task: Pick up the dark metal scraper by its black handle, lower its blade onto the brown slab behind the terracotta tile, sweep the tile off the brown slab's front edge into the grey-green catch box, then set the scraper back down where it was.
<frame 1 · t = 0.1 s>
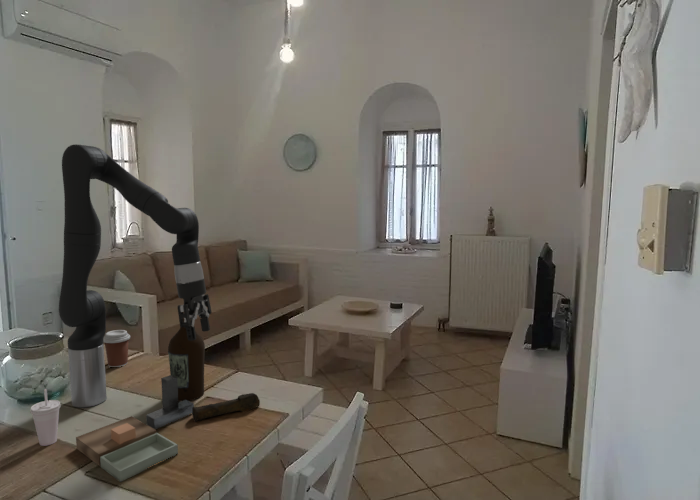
hand: (199, 335, 135), 22 cm above the table, tool pointing down, fingers open, 8 cm apart
coffee cup: (117, 365, 173), on the table
catch box: (140, 460, 112), on the table
hand tool: (226, 413, 136), on the table
brown slab: (117, 445, 119), on the table
tile: (123, 438, 116), point 3 cm above the table, touching brown slab
scraper: (171, 419, 132), on the table
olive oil: (188, 395, 148), on the table
smoothie: (48, 442, 120), on the table
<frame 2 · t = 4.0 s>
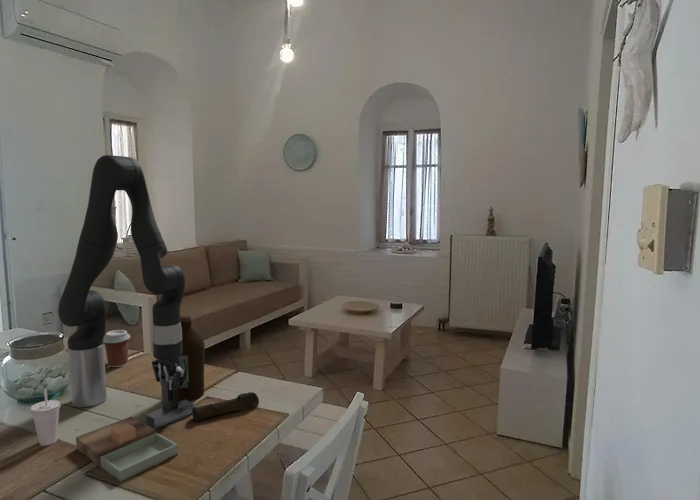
hand: (170, 399, 132), 6 cm above the table, tool pointing down, fingers closed on scraper, 3 cm apart
scraper: (170, 418, 132), on the table, touching gripper
everything else where it was.
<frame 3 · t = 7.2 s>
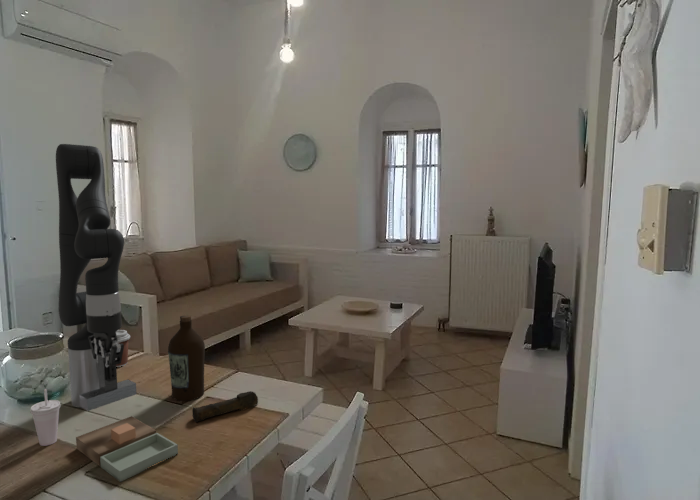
hand: (107, 378, 118), 17 cm above the table, tool pointing down, fingers closed on scraper, 3 cm apart
scraper: (109, 400, 119), point 11 cm above the table, touching gripper
everything else where it was.
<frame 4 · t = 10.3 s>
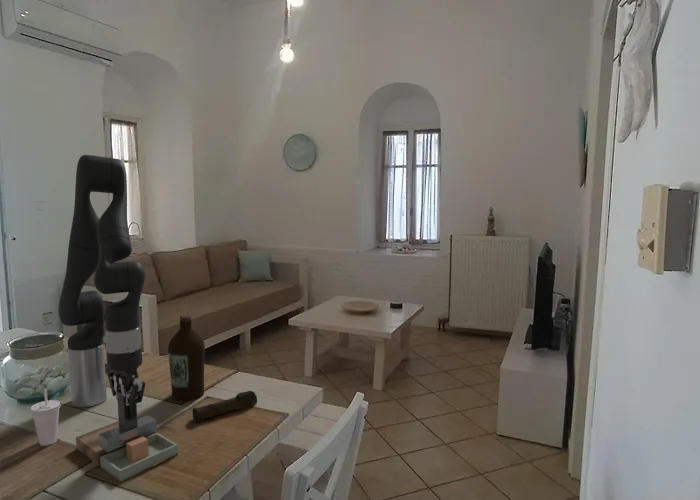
hand: (127, 416, 114), 9 cm above the table, tool pointing down, fingers closed on scraper, 3 cm apart
tile: (134, 447, 113), point 2 cm above the table, tilted 90°, touching catch box
scraper: (129, 438, 114), point 4 cm above the table, touching gripper
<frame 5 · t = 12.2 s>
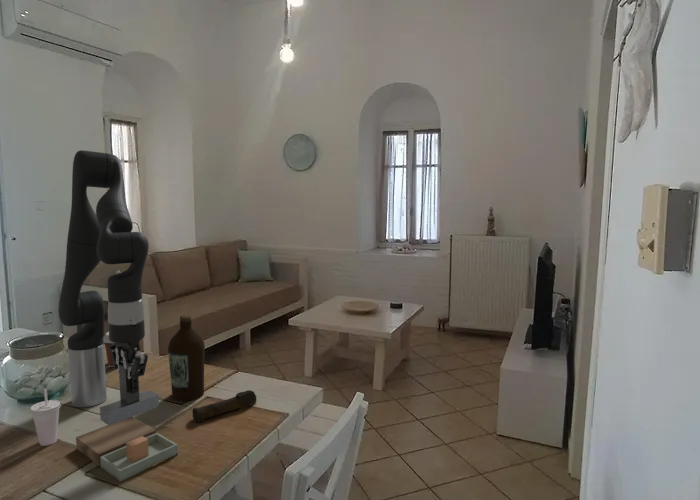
hand: (129, 390, 112), 17 cm above the table, tool pointing down, fingers closed on scraper, 3 cm apart
scraper: (130, 412, 112), point 11 cm above the table, touching gripper
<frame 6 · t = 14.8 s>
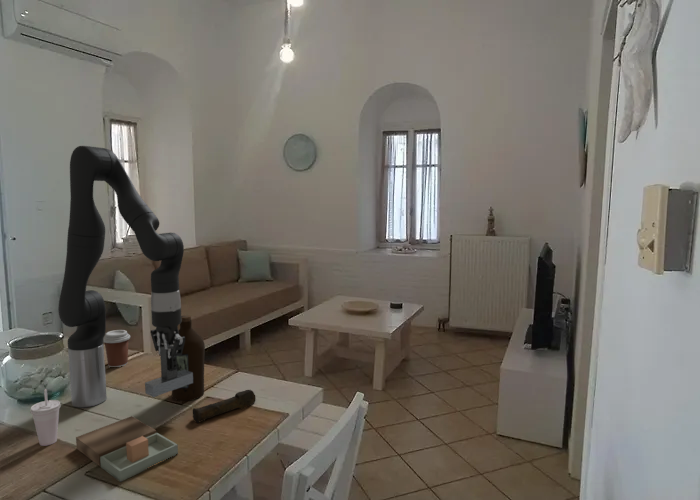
hand: (169, 368, 131), 15 cm above the table, tool pointing down, fingers closed on scraper, 3 cm apart
scraper: (169, 387, 131), point 9 cm above the table, touching gripper
when the fingers open (7 cm above the table, at t = 16.8 s): scraper drops 1 cm, on the table.
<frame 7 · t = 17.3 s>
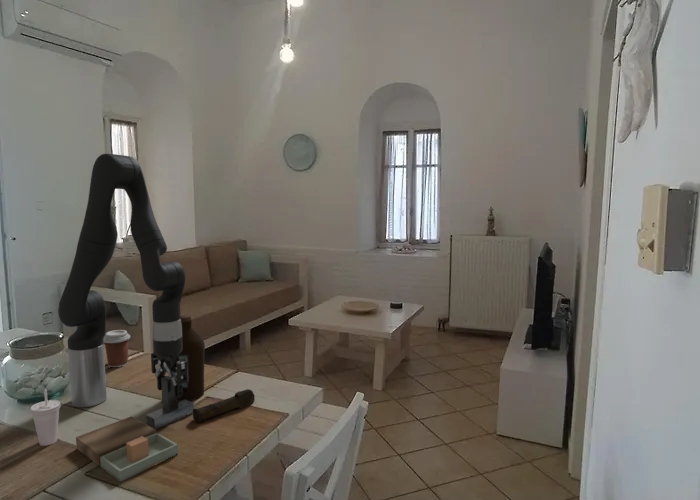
hand: (169, 393, 131), 7 cm above the table, tool pointing down, fingers open, 7 cm apart
scraper: (170, 419, 132), on the table
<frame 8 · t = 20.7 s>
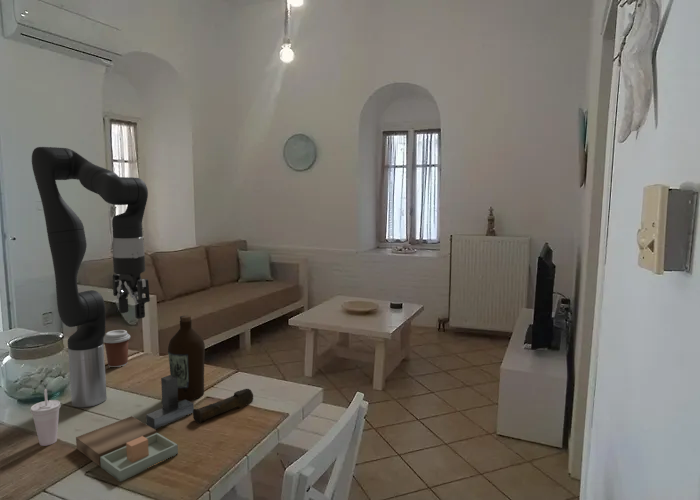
hand: (131, 315, 126), 30 cm above the table, tool pointing down, fingers open, 8 cm apart
at the end: tile inside the target area on the catch box (2.5 cm from its centre), point 2.5 cm above the catch box's base; the gripper is holding nothing; scraper moved 0.2 cm from its start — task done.
